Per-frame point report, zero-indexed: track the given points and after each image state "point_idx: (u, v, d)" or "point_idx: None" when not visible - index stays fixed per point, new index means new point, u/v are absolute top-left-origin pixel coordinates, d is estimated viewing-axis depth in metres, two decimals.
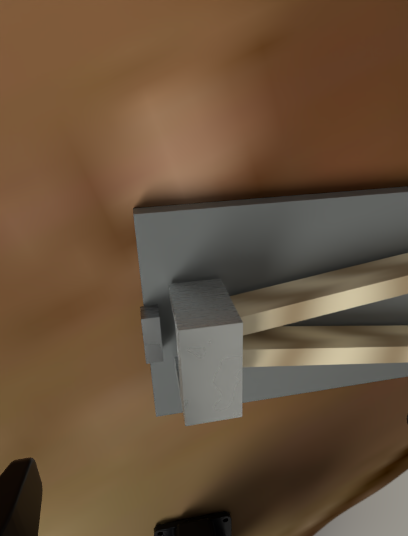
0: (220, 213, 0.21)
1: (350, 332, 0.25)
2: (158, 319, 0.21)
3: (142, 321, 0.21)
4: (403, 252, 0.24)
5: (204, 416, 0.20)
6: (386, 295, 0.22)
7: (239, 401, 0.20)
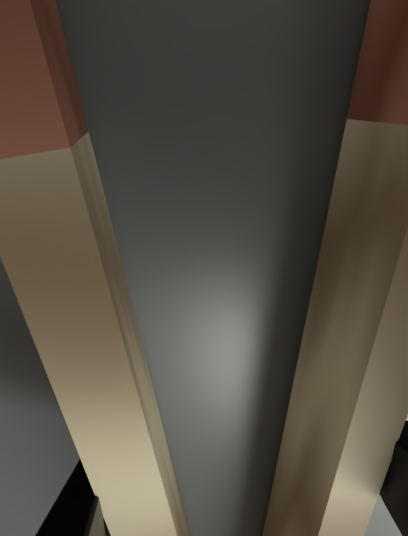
0: None
1: None
2: None
3: None
4: None
5: None
6: None
7: None
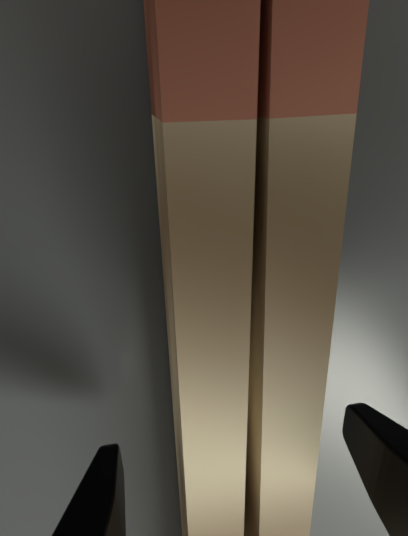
0: None
1: None
2: None
3: None
4: (106, 436, 0.10)
5: None
6: None
7: None
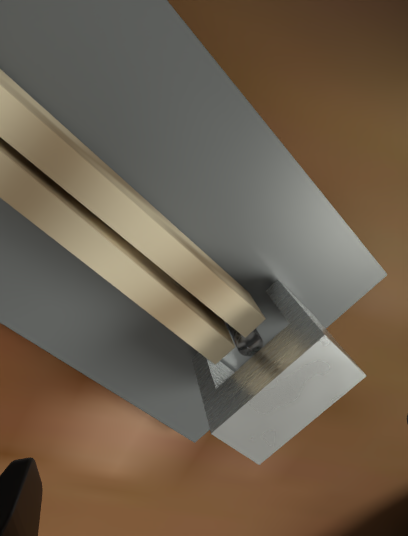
0: (138, 400, 0.20)
1: None
2: None
3: None
4: None
5: (344, 369, 0.15)
6: (64, 213, 0.13)
7: (304, 356, 0.14)
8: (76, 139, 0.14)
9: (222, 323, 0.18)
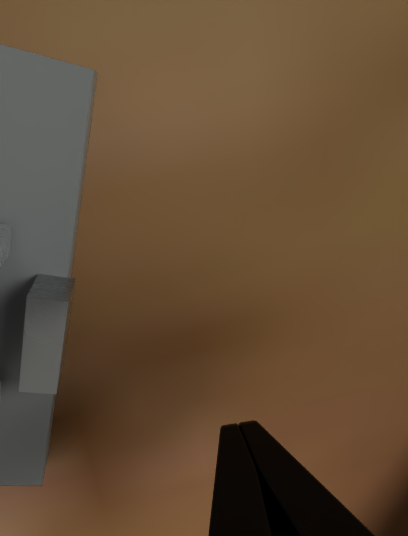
0: None
1: None
2: (21, 387, 0.11)
3: (54, 389, 0.11)
4: None
5: None
6: None
7: None
8: None
9: None
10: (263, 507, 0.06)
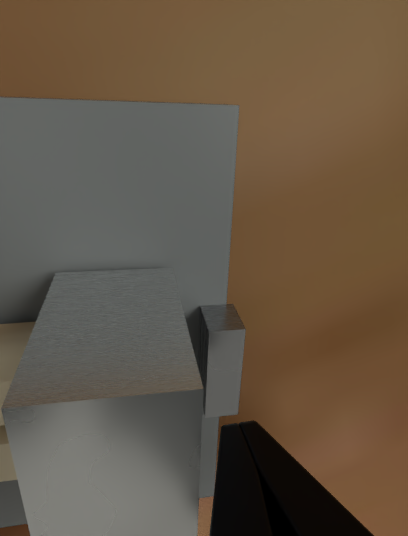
0: None
1: None
2: (207, 414, 0.11)
3: (236, 410, 0.12)
4: None
5: (138, 416, 0.06)
6: None
7: (23, 460, 0.06)
8: None
9: None
10: (264, 507, 0.06)
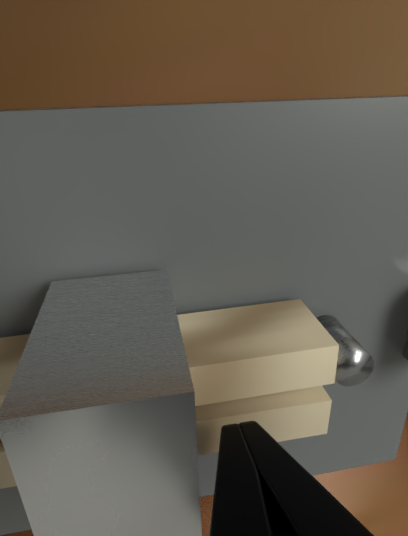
0: None
1: None
2: None
3: None
4: None
5: (131, 422, 0.06)
6: None
7: (21, 470, 0.06)
8: None
9: None
10: (264, 507, 0.06)
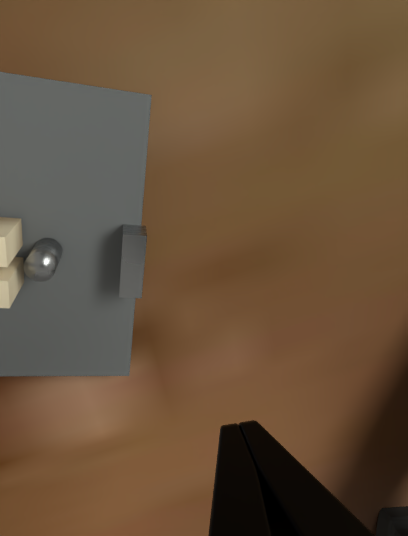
0: (37, 370, 0.20)
1: None
2: (120, 294, 0.17)
3: (140, 295, 0.18)
4: None
5: None
6: None
7: None
8: None
9: (10, 264, 0.16)
10: (263, 507, 0.06)
